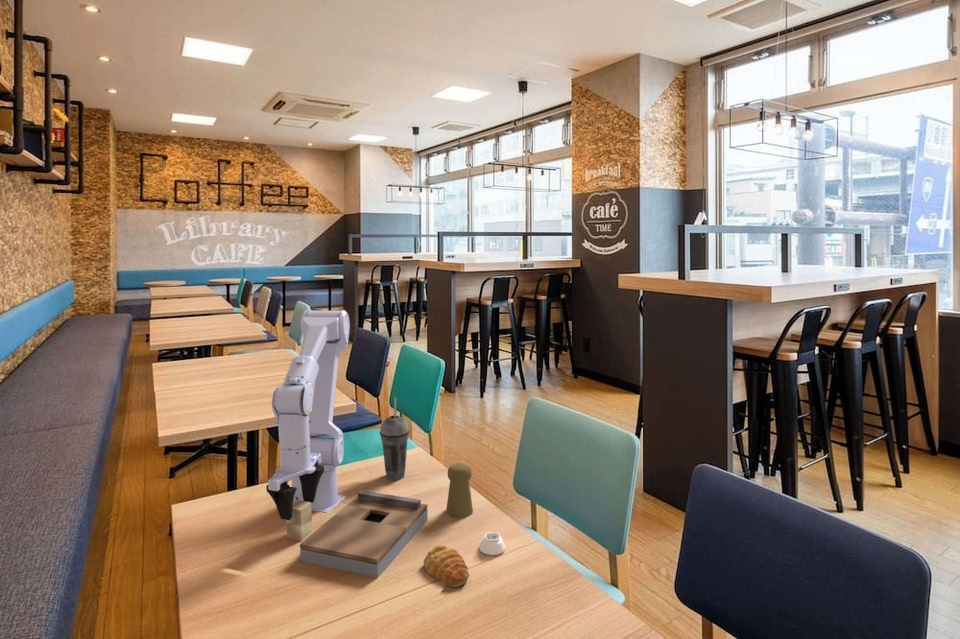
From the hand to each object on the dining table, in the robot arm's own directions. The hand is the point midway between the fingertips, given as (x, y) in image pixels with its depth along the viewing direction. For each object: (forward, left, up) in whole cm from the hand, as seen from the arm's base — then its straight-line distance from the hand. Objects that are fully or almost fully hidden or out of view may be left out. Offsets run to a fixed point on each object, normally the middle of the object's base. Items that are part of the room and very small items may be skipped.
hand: (297, 509), depth 119 cm
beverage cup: (+5, +33, -6) cm, 34 cm away
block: (0, 0, -6) cm, 6 cm away
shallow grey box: (+14, +3, -6) cm, 15 cm away
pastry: (+33, -2, -6) cm, 33 cm away
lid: (+14, +3, -3) cm, 15 cm away
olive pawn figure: (+27, +20, -6) cm, 34 cm away
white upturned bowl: (+38, +8, -6) cm, 40 cm away
